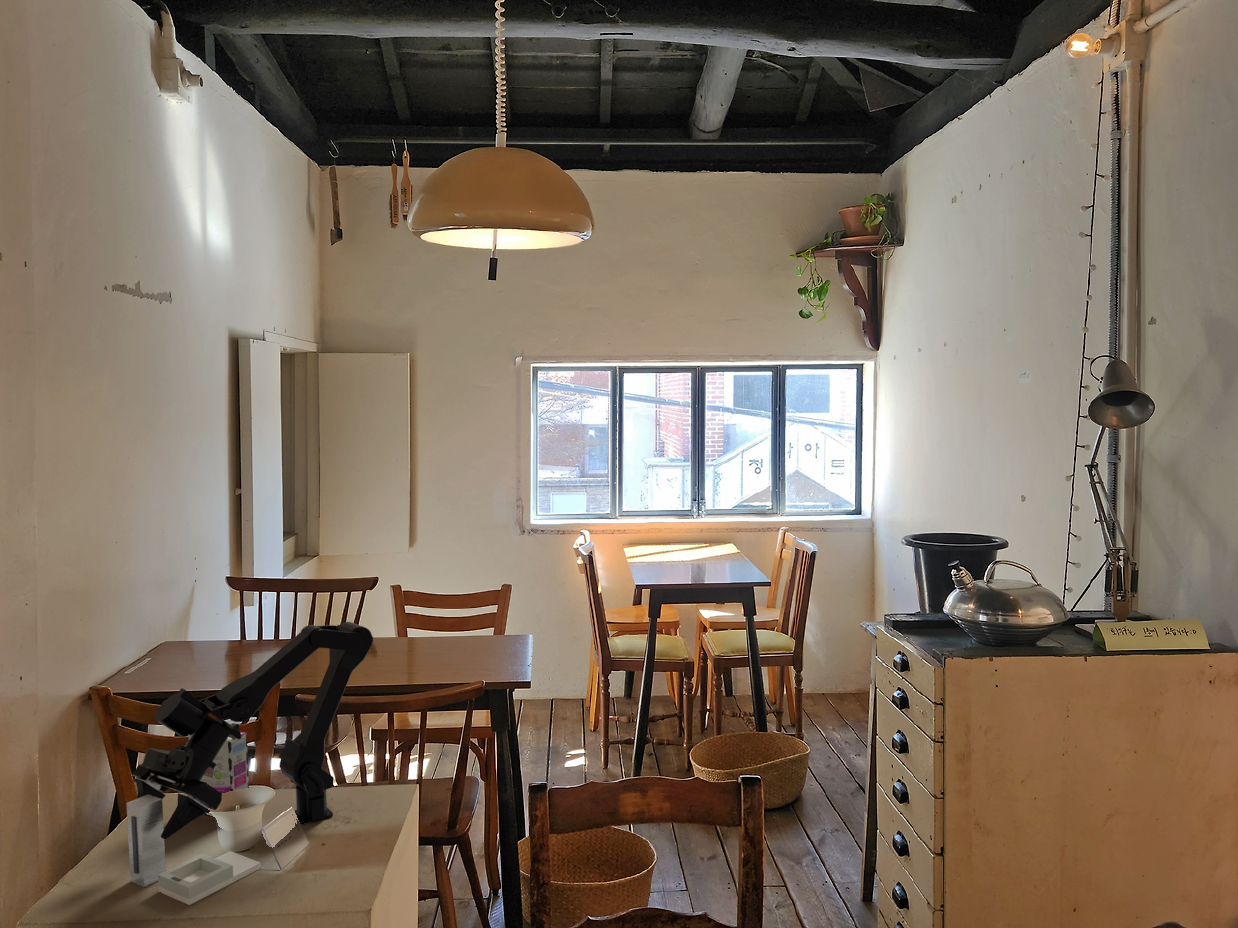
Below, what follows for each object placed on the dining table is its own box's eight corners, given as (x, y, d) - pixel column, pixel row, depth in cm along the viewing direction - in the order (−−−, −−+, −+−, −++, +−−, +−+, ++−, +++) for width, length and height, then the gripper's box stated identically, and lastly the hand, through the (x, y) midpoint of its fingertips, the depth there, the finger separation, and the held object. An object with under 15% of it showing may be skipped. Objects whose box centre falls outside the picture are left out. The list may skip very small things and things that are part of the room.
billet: (152, 870, 167) (148, 794, 166) (166, 876, 165) (162, 799, 164) (129, 881, 163) (125, 803, 162) (143, 887, 161) (139, 808, 160)
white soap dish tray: (230, 856, 172) (229, 839, 172) (260, 867, 168) (260, 851, 167) (158, 891, 160) (157, 873, 160) (189, 904, 156) (188, 886, 156)
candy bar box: (251, 811, 191) (248, 731, 189) (233, 821, 186) (229, 740, 185) (209, 802, 195) (205, 725, 194) (190, 812, 190) (186, 733, 189)
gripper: (140, 719, 172) (82, 800, 163) (204, 738, 162) (146, 825, 154) (181, 747, 179) (127, 826, 171) (245, 767, 170) (192, 852, 161)
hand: (146, 831), depth 164 cm, fingers open, 9 cm apart
